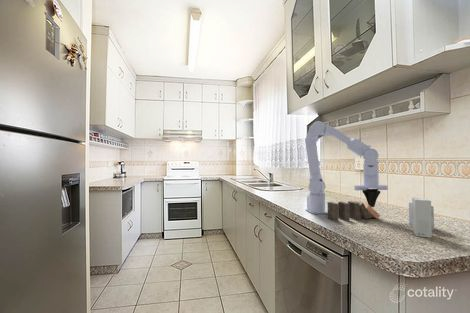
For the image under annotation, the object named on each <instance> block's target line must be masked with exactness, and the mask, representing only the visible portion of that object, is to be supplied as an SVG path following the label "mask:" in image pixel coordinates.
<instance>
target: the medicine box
mask: <svg viewBox="0 0 470 313" xmlns="http://www.w3.org/2000/svg"><path fill="white" fill-rule="evenodd" d="M434 210H435V209H434V206H433V205H431V225H432V231H435V214H434V213H435V212H434ZM408 217H409V218H408V222H409V225H411V226H413V217H412V202H409V203H408Z"/></svg>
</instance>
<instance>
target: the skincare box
mask: <svg viewBox="0 0 470 313" xmlns="http://www.w3.org/2000/svg"><path fill="white" fill-rule="evenodd" d="M411 199H412V200H411V203H412V217H413V225H412V232H413V233H414V235H415V236H416V237H421V238H422V237H423V238H429V239H431V238H432V237H433V236H432V235H433V234H432V232H433V230H432V225H431V206H432V200H430V199H428V198H423V197H422V198H421V197H411Z"/></svg>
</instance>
